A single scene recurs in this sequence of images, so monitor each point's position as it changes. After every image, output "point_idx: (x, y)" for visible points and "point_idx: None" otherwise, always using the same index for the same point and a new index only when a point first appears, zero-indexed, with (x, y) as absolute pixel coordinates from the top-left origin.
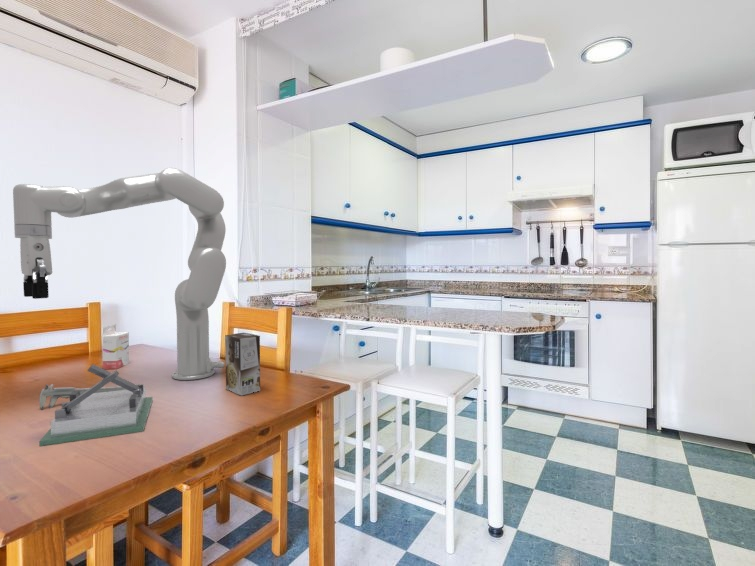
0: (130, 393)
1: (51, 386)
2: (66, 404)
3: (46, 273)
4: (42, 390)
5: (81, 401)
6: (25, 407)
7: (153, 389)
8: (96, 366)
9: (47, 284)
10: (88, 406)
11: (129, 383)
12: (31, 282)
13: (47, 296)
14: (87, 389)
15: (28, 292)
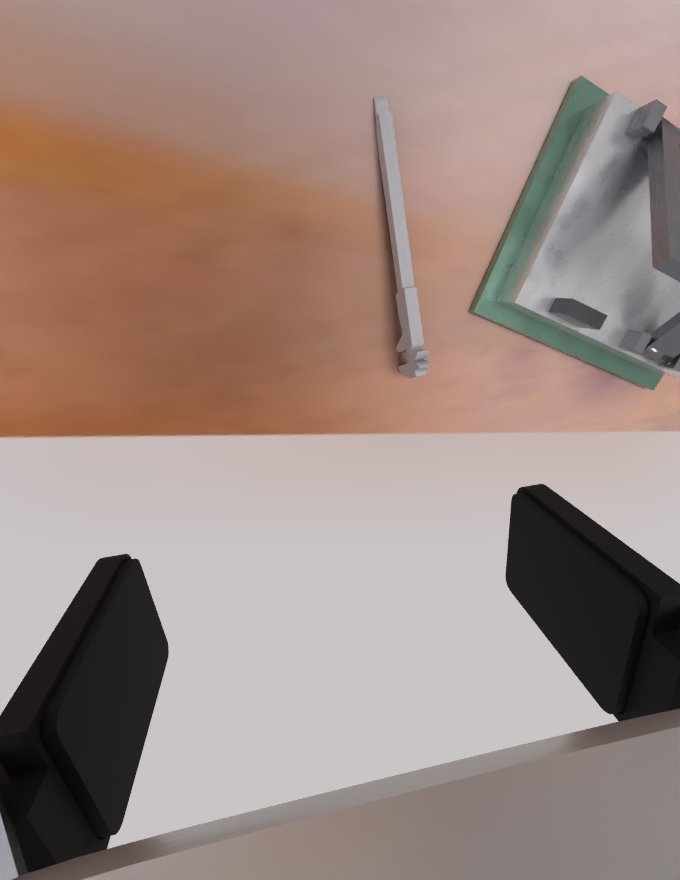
0: (634, 161)
1: (427, 354)
2: (653, 345)
3: (322, 842)
4: (422, 375)
5: (590, 300)
6: (354, 398)
7: (449, 14)
8: (674, 248)
9: (659, 578)
10: (646, 294)
11: (676, 156)
12: (85, 786)
13: (547, 494)
14: (409, 249)
15: (153, 663)
